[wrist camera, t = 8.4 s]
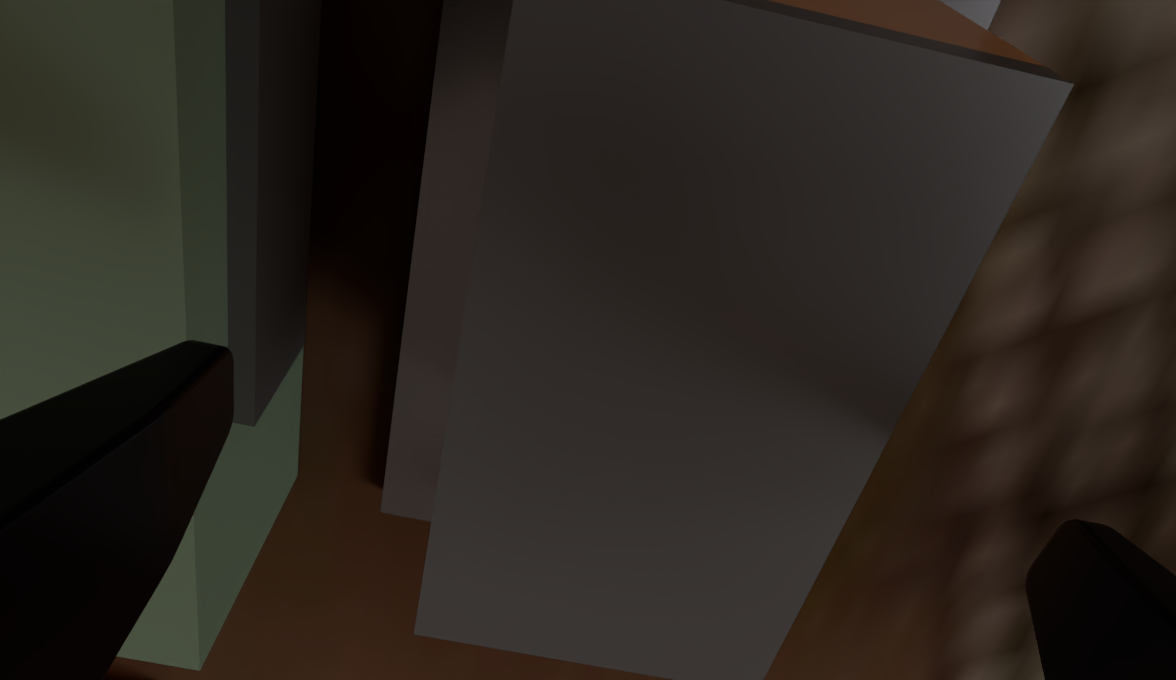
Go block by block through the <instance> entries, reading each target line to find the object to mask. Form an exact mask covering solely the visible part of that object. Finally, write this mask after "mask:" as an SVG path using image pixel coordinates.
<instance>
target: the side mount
mask: <svg viewBox="0 0 1176 680" xmlns="http://www.w3.org/2000/svg"><path fill="white" fill-rule="evenodd" d="M939 1H941V2H943V3H944V4H946V5H948V6H949V7H951V8H952V9H954V10H956V11H957V12H959V13H960V14H962V15H964V16H965V17H967V18H968V19H970V20H972V21H973V22H975V23H976V24H978V25H980V26H981V27H983V28H985V29H986V30H988V28H989V26H990V23H991V21H992V19H993V17H994V15H995V13H996V10H997V8H998V6H999V4H1000V2H1001V0H939ZM512 5H513V0H444V1H443V9H442V17H441V25H440V34H439V42H438V50H437V58H436V66H435V74H434V82H433V90H432V98H431V106H430V115H429V123H428V131H427V139H426V147H425V155H424V163H423V171H422V179H421V187H420V196H419V204H418V212H417V220H416V228H415V236H414V244H413V252H412V260H411V268H410V277H409V285H408V293H407V301H406V309H405V317H404V325H403V333H402V341H401V349H400V358H399V366H398V374H397V382H396V390H395V398H394V406H393V414H392V422H391V430H390V439H389V447H388V455H387V463H386V471H385V479H384V487H383V495H382V503H381V511H380V512H383V513H388V514H393V515H398V516H403V517H409V518H414V519H419V520H424V521H430V522H432V515H433V509H434V503H435V496H436V490H437V483H438V477H439V471H440V464H441V458H442V452H443V445H444V439H445V432H446V426H447V420H448V413H449V407H450V400H451V394H452V388H453V381H454V375H455V369H456V362H457V356H458V349H459V343H460V337H461V330H462V324H463V317H464V311H465V305H466V298H467V292H468V286H469V279H470V273H471V266H472V260H473V254H474V247H475V241H476V234H477V228H478V222H479V215H480V209H481V203H482V196H483V190H484V183H485V177H486V171H487V164H488V158H489V151H490V145H491V139H492V132H493V126H494V120H495V113H496V107H497V100H498V94H499V88H500V81H501V75H502V68H503V62H504V56H505V49H506V43H507V37H508V30H509V24H510V17H511V11H512Z"/></svg>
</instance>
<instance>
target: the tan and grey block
mask: <svg viewBox="0 0 1176 680" xmlns="http://www.w3.org/2000/svg"><path fill="white" fill-rule="evenodd" d="M1073 85H1074V84H1073V83H1071V82H1070V81H1068V80H1067V79H1065V78H1063V77H1062V76H1060V75H1059V74H1057V73H1055V72H1054V71H1052V70H1051V69H1049V68H1047V67H1046V66H1044V65H1043V64H1041V63H1039V62H1038V61H1036V60H1034V59H1033V58H1031V57H1030V56H1028V55H1026V54H1025V53H1023V52H1022V51H1020V50H1018V49H1017V48H1015V47H1014V46H1012V45H1010V44H1009V43H1007V42H1005V41H1004V40H1002V39H1001V38H999V37H997V36H996V35H994V34H993V33H991V32H989V31H988V30H986V29H985V28H983V27H981V26H980V25H978V24H976V23H975V22H973V21H972V20H970V19H968V18H967V17H965V16H964V15H962V14H960V13H959V12H957V11H956V10H954V9H952V8H951V7H949V6H948V5H946V4H944V3H943V2H941V1H939V0H513V5H512V11H511V17H510V24H509V30H508V37H507V43H506V49H505V56H504V62H503V68H502V75H501V81H500V88H499V94H498V100H497V107H496V113H495V120H494V126H493V132H492V139H491V145H490V151H489V158H488V164H487V171H486V177H485V183H484V190H483V196H482V203H481V209H480V215H479V222H478V228H477V234H476V241H475V247H474V254H473V260H472V266H471V273H470V279H469V286H468V292H467V298H466V305H465V311H464V317H463V324H462V330H461V337H460V343H459V349H458V356H457V362H456V369H455V375H454V381H453V388H452V394H451V400H450V407H449V413H448V420H447V426H446V432H445V439H444V445H443V452H442V458H441V464H440V471H439V477H438V483H437V490H436V496H435V503H434V509H433V515H432V522H431V528H430V535H429V541H428V547H427V554H426V560H425V566H424V573H423V579H422V586H421V592H420V598H419V605H418V611H417V618H416V624H415V630H414V634H415V635H421V636H427V637H432V638H438V639H444V640H450V641H455V642H461V643H467V644H473V645H478V646H484V647H490V648H495V649H501V650H507V651H513V652H518V653H524V654H530V655H536V656H541V657H547V658H553V659H559V660H564V661H570V662H576V663H581V664H587V665H593V666H599V667H604V668H610V669H616V670H622V671H627V672H633V673H639V674H644V675H650V676H656V677H662V678H667V679H673V680H763V679H764V678H765V676H766V674H767V672H768V670H769V668H770V666H771V664H772V662H773V660H774V658H775V656H776V655H777V653H778V651H779V649H780V647H781V645H782V643H783V641H784V639H785V637H786V635H787V633H788V632H789V630H790V628H791V626H792V624H793V622H794V620H795V618H796V616H797V614H798V612H799V610H800V609H801V607H802V605H803V603H804V601H805V599H806V597H807V595H808V593H809V591H810V589H811V587H812V586H813V584H814V582H815V580H816V578H817V576H818V574H819V572H820V570H821V568H822V566H823V564H824V563H825V561H826V559H827V557H828V555H829V553H830V551H831V549H832V547H833V545H834V543H835V541H836V540H837V538H838V536H839V534H840V532H841V530H842V528H843V526H844V524H845V522H846V520H847V518H848V517H849V515H850V513H851V511H852V509H853V507H854V505H855V503H856V501H857V499H858V497H859V495H860V494H861V492H862V490H863V488H864V486H865V484H866V482H867V480H868V478H869V476H870V474H871V472H872V471H873V469H874V467H875V465H876V463H877V461H878V459H879V457H880V455H881V453H882V451H883V450H884V448H885V446H886V444H887V442H888V440H889V438H890V436H891V434H892V432H893V430H894V428H895V427H896V425H897V423H898V421H899V419H900V417H901V415H902V413H903V411H904V409H905V407H906V405H907V404H908V402H909V400H910V398H911V396H912V394H913V392H914V390H915V388H916V386H917V384H918V382H919V381H920V379H921V377H922V375H923V373H924V371H925V369H926V367H927V365H928V363H929V361H930V359H931V358H932V356H933V354H934V352H935V350H936V348H937V346H938V344H939V342H940V340H941V338H942V336H943V335H944V333H945V331H946V329H947V327H948V325H949V323H950V321H951V319H952V317H953V315H954V313H955V312H956V310H957V308H958V306H959V304H960V302H961V300H962V298H963V296H964V294H965V292H966V290H967V289H968V287H969V285H970V283H971V281H972V279H973V277H974V275H975V273H976V271H977V269H978V267H979V266H980V264H981V262H982V260H983V258H984V256H985V254H986V252H987V250H988V248H989V246H990V244H991V243H992V241H993V239H994V237H995V235H996V233H997V231H998V229H999V227H1000V225H1001V223H1002V221H1003V220H1004V218H1005V216H1006V214H1007V212H1008V210H1009V208H1010V206H1011V204H1012V202H1013V200H1014V198H1015V197H1016V195H1017V193H1018V191H1019V189H1020V187H1021V185H1022V183H1023V181H1024V179H1025V177H1026V175H1027V174H1028V172H1029V170H1030V168H1031V166H1032V164H1033V162H1034V160H1035V158H1036V156H1037V154H1038V152H1039V151H1040V149H1041V147H1042V145H1043V143H1044V141H1045V139H1046V137H1047V135H1048V133H1049V131H1050V129H1051V128H1052V126H1053V124H1054V122H1055V120H1056V118H1057V116H1058V114H1059V112H1060V110H1061V108H1062V106H1063V105H1064V103H1065V101H1066V99H1067V97H1068V95H1069V93H1070V91H1071V89H1072V87H1073Z"/></svg>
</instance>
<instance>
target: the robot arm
mask: <svg viewBox="0 0 1176 680" xmlns="http://www.w3.org/2000/svg"><path fill="white" fill-rule="evenodd" d="M233 416H234V360H233V355H232V352H231V351H230V350H229V349H228V348H227V347H225V346H221V345H216V344H212V343H207V342H202V341H197V340H187V341H184V342H181V343H178V344H176V345H174V346H171V347H169V348H167V349H164V350H162V351H160V352H157V353H155V354H153V355H150V356H148V357H146V358H143V359H141V360H138V361H136V362H134V363H131V364H129V365H127V366H124V367H122V368H120V369H117V370H115V371H113V372H110V373H108V374H106V375H103V376H101V377H99V378H96V379H94V380H92V381H89V382H87V383H85V384H82V385H80V386H77V387H75V388H73V389H70V390H68V391H66V392H63V393H61V394H59V395H56V396H54V397H52V398H49V399H47V400H45V401H42V402H40V403H38V404H35V405H33V406H31V407H28V408H26V409H24V410H21V411H19V412H16V413H14V414H12V415H9V416H7V417H5V418H2V419H0V680H102V679H103V678H104V676H105V674H106V673H107V671H108V669H109V668H110V666H111V664H112V662H113V661H114V659H115V657H116V656H117V654H118V652H119V651H120V649H121V647H122V646H123V644H124V642H125V641H126V639H127V637H128V636H129V634H130V632H131V631H132V629H133V627H134V626H135V624H136V622H137V620H138V619H139V617H140V615H141V614H142V612H143V610H144V609H145V607H146V605H147V604H148V602H149V600H150V599H151V597H152V595H153V594H154V592H155V590H156V589H157V587H158V585H159V584H160V582H161V580H162V578H163V576H164V575H165V573H166V571H167V569H168V567H169V566H170V564H171V562H172V560H173V558H174V556H175V554H176V552H177V550H178V547H179V545H180V543H181V541H182V539H183V537H184V534H185V532H186V530H187V528H188V525H189V523H190V521H191V519H192V516H193V514H194V512H195V510H196V507H197V505H198V503H199V501H200V498H201V496H202V494H203V492H204V489H205V487H206V485H207V482H208V480H209V478H210V476H211V473H212V471H213V469H214V467H215V464H216V462H217V460H218V458H219V455H220V453H221V451H222V449H223V446H224V444H225V442H226V440H227V437H228V435H229V432H230V429H231V426H232V422H233ZM1026 593H1027V597H1028V602H1029V607H1030V611H1031V616H1032V621H1033V625H1034V630H1035V635H1036V640H1037V644H1038V649H1039V654H1040V658H1041V663H1042V668H1043V672H1044V677H1045V680H1176V576H1175V575H1174V574H1173V573H1171V572H1170V571H1169V570H1167V569H1166V568H1165V567H1163V566H1162V565H1161V564H1159V563H1158V562H1157V561H1155V560H1154V559H1153V558H1151V557H1150V556H1149V555H1147V554H1146V553H1145V552H1143V551H1142V550H1141V549H1140V548H1138V547H1137V546H1136V545H1134V544H1133V543H1132V542H1130V541H1129V540H1128V539H1126V538H1125V537H1124V536H1122V535H1121V534H1120V533H1118V532H1117V531H1116V530H1114V529H1113V528H1111V527H1109V526H1106V525H1103V524H1098V523H1093V522H1088V521H1083V520H1078V519H1073V520H1068V521H1066V522H1065V523H1063V524H1062V525H1061V526H1060V527H1059V528H1058V529H1057V531H1056V532H1055V534H1054V535H1053V536H1052V538H1051V539H1050V540H1049V542H1048V543H1047V545H1046V546H1045V547H1044V549H1043V550H1042V551H1041V553H1040V554H1039V556H1038V557H1037V558H1036V560H1035V561H1034V562H1033V564H1032V565H1031V567H1030V569H1029V571H1028V574H1027V578H1026Z"/></svg>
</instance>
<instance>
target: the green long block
mask: <svg viewBox="0 0 1176 680" xmlns="http://www.w3.org/2000/svg"><path fill="white" fill-rule="evenodd" d="M321 4H322V0H0V419H2V418H5V417H7V416H9V415H12V414H14V413H16V412H19V411H21V410H24V409H26V408H28V407H31V406H33V405H35V404H38V403H40V402H42V401H45V400H47V399H49V398H52V397H54V396H56V395H59V394H61V393H63V392H66V391H68V390H70V389H73V388H75V387H77V386H80V385H82V384H85V383H87V382H89V381H92V380H94V379H96V378H99V377H101V376H103V375H106V374H108V373H110V372H113V371H115V370H117V369H120V368H122V367H124V366H127V365H129V364H131V363H134V362H136V361H138V360H141V359H143V358H146V357H148V356H150V355H153V354H155V353H157V352H160V351H162V350H164V349H167V348H169V347H171V346H174V345H176V344H178V343H181V342H184V341H187V340H197V341H202V342H207V343H212V344H216V345H221V346H225V347H227V348H228V349H229V350H230V351H231V352H232V355H233V360H234V416H233V422H232V426H231V429H230V432H229V435H228V437H227V440H226V442H225V444H224V446H223V449H222V451H221V453H220V455H219V458H218V460H217V462H216V464H215V467H214V469H213V471H212V473H211V476H210V478H209V480H208V482H207V485H206V487H205V489H204V492H203V494H202V496H201V498H200V501H199V503H198V505H197V507H196V510H195V512H194V514H193V516H192V519H191V521H190V523H189V525H188V528H187V530H186V532H185V534H184V537H183V539H182V541H181V543H180V545H179V547H178V550H177V552H176V554H175V556H174V558H173V560H172V562H171V564H170V566H169V567H168V569H167V571H166V573H165V575H164V576H163V578H162V580H161V582H160V584H159V585H158V587H157V589H156V590H155V592H154V594H153V595H152V597H151V599H150V600H149V602H148V604H147V605H146V607H145V609H144V610H143V612H142V614H141V615H140V617H139V619H138V620H137V622H136V624H135V626H134V627H133V629H132V631H131V632H130V634H129V636H128V637H127V639H126V641H125V642H124V644H123V646H122V647H121V649H120V651H119V652H118V654H117V656H118V657H124V658H130V659H135V660H141V661H147V662H153V663H158V664H164V665H170V666H176V667H181V668H187V669H193V670H199V671H200V669H201V667H202V665H203V663H204V661H205V659H206V657H207V655H208V653H209V651H210V649H211V647H212V645H213V643H214V641H215V639H216V637H217V635H218V633H219V631H220V629H221V627H222V625H223V623H224V621H225V619H226V617H227V615H228V613H229V611H230V609H231V607H232V605H233V603H234V601H235V599H236V597H237V595H238V593H239V591H240V589H241V587H242V585H243V583H244V581H245V579H246V577H247V575H248V573H249V571H250V569H251V567H252V565H253V563H254V561H255V559H256V557H257V555H258V553H259V551H260V549H261V547H262V545H263V543H264V541H265V539H266V537H267V535H268V533H269V531H270V529H271V527H272V525H273V523H274V521H275V519H276V517H277V515H278V513H279V511H280V509H281V507H282V505H283V503H284V501H285V499H286V497H287V495H288V493H289V491H290V489H291V487H292V485H293V483H294V481H295V479H296V477H297V473H298V452H299V432H300V412H301V391H302V371H303V351H304V345H305V325H306V305H307V285H308V265H309V245H310V225H311V205H312V185H313V165H314V144H315V124H316V104H317V84H318V64H319V44H320V24H321Z"/></svg>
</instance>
